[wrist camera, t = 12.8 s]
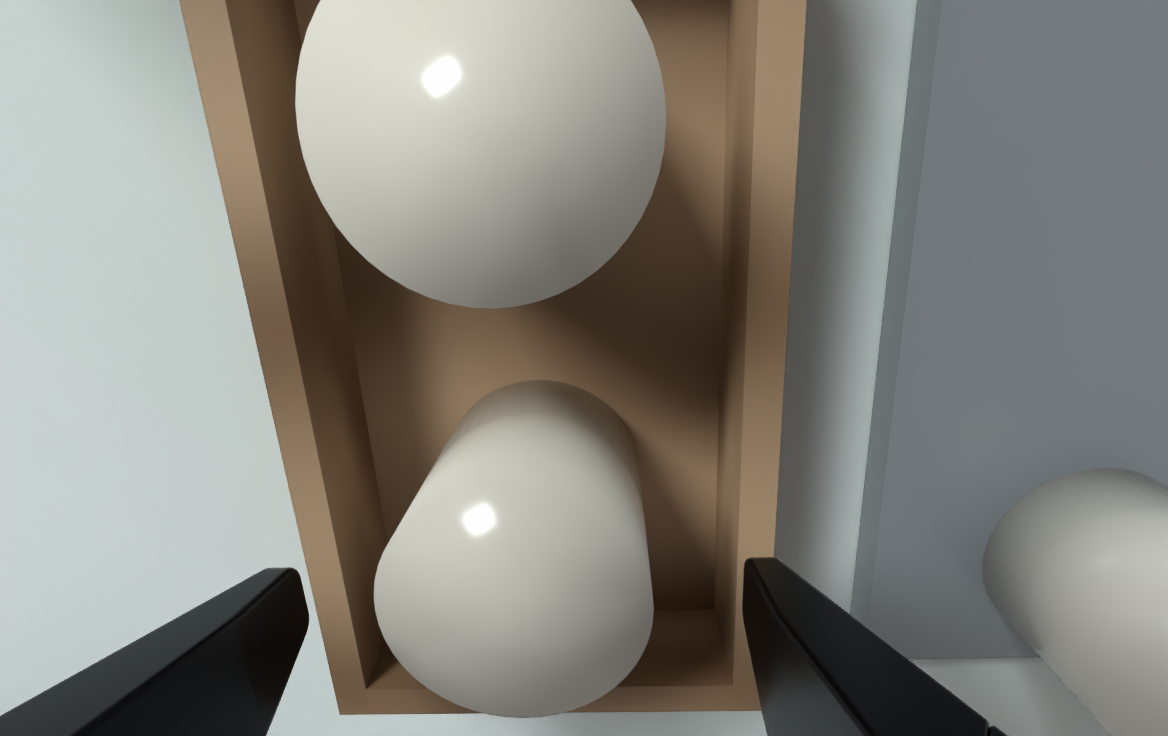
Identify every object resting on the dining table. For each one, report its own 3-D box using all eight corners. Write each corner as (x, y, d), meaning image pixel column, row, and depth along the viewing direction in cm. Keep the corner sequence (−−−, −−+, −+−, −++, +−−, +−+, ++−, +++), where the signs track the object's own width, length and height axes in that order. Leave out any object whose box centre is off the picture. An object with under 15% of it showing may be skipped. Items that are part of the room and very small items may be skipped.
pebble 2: (639, 550, 13) (654, 717, 9) (457, 553, 13) (394, 717, 9) (638, 377, 11) (653, 482, 8) (437, 382, 12) (353, 487, 8)
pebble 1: (659, 227, 10) (703, 252, 7) (452, 288, 11) (380, 348, 7) (598, -15, 9) (609, -150, 6) (369, 61, 10) (230, -16, 6)
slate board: (1220, 626, 13) (1258, 654, 12) (848, 631, 14) (862, 659, 13) (1518, -240, 9) (1609, -281, 8) (938, -197, 9) (969, -230, 8)
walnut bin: (736, 615, 14) (765, 711, 11) (384, 621, 14) (340, 714, 12) (765, -143, 9) (821, -251, 7) (252, -106, 10) (135, -197, 7)
